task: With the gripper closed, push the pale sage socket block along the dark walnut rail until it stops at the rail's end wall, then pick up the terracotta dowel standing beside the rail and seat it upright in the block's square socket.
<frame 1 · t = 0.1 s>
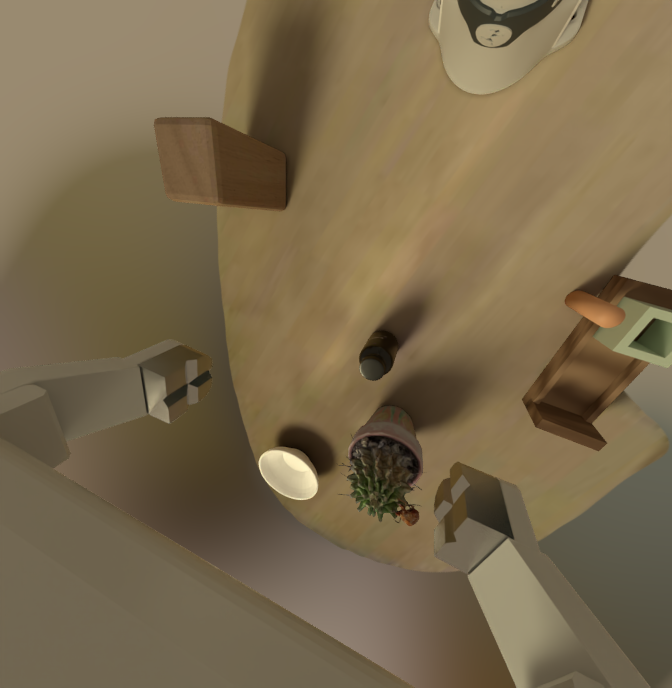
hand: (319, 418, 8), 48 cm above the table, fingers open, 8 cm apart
bowl: (297, 457, 84), on the table
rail: (592, 354, 46), on the table
dowel: (576, 299, 44), on the table
block: (266, 182, 53), on the table
supplement bottle: (383, 343, 59), on the table
socket block: (644, 330, 39), point 5 cm above the table, slide at 0.0 cm
potted plant: (388, 421, 67), on the table
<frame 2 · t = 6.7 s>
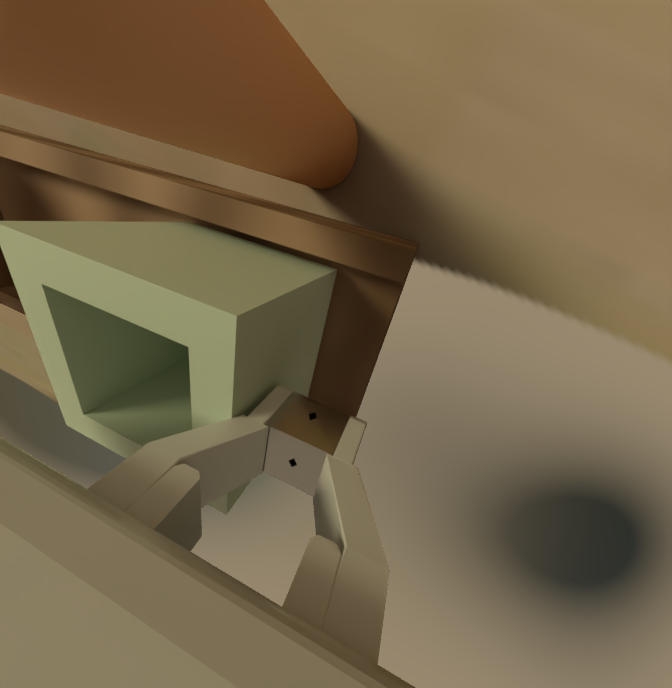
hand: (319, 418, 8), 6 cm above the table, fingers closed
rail: (176, 269, 16), on the table
dowel: (322, 146, 11), on the table
socket block: (205, 345, 10), point 5 cm above the table, slide at 0.0 cm, touching gripper
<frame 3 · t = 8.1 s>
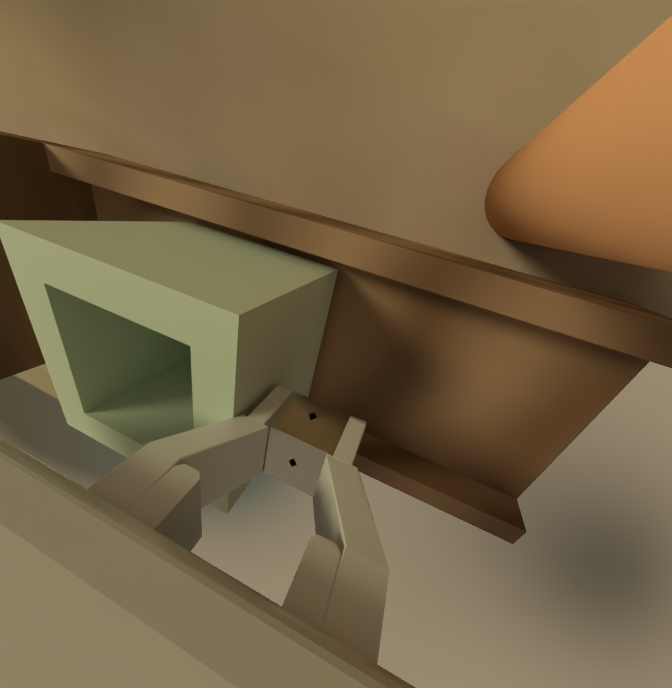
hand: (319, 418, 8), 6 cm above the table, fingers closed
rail: (297, 313, 14), on the table
dowel: (533, 195, 9), on the table
socket block: (206, 344, 10), point 5 cm above the table, slide at 8.2 cm, touching gripper
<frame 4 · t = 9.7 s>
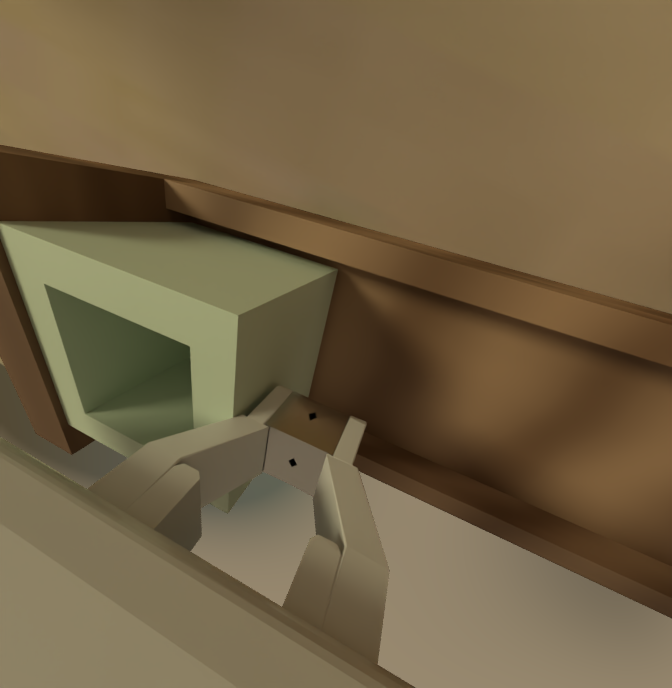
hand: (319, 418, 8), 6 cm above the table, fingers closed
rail: (410, 355, 13), on the table
socket block: (206, 344, 10), point 5 cm above the table, slide at 14.5 cm, touching gripper
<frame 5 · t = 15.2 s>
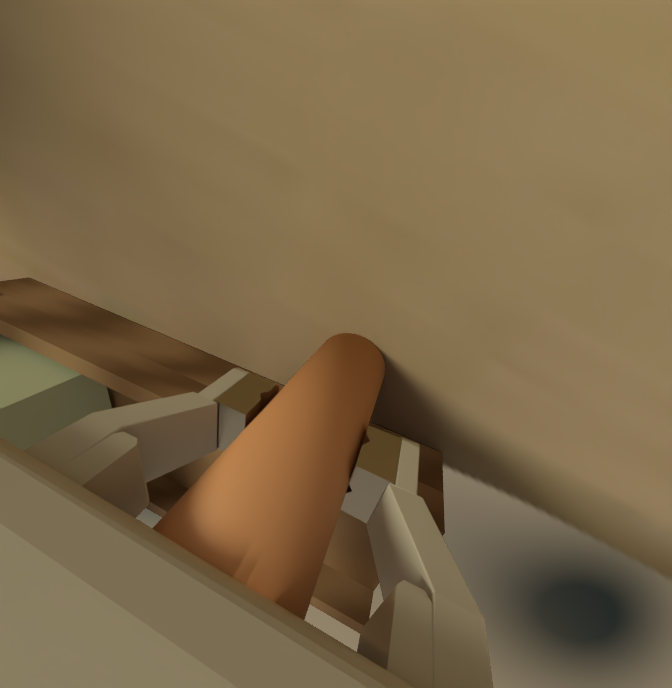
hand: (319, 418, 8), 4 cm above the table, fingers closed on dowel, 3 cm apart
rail: (201, 417, 16), on the table
dowel: (350, 365, 11), on the table, touching gripper
when the fingers open (10 cm above the table, at t = 20.2 s): dowel drops 4 cm, resting on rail.
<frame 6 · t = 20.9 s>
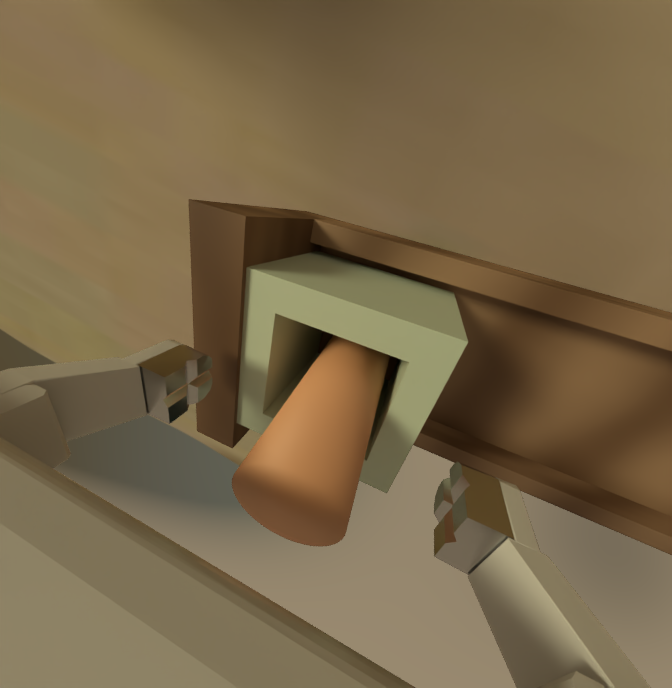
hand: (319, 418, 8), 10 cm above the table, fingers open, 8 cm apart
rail: (494, 362, 15), on the table
dowel: (367, 333, 15), point 2 cm above the table, touching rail
socket block: (347, 356, 12), point 5 cm above the table, slide at 14.5 cm, touching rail
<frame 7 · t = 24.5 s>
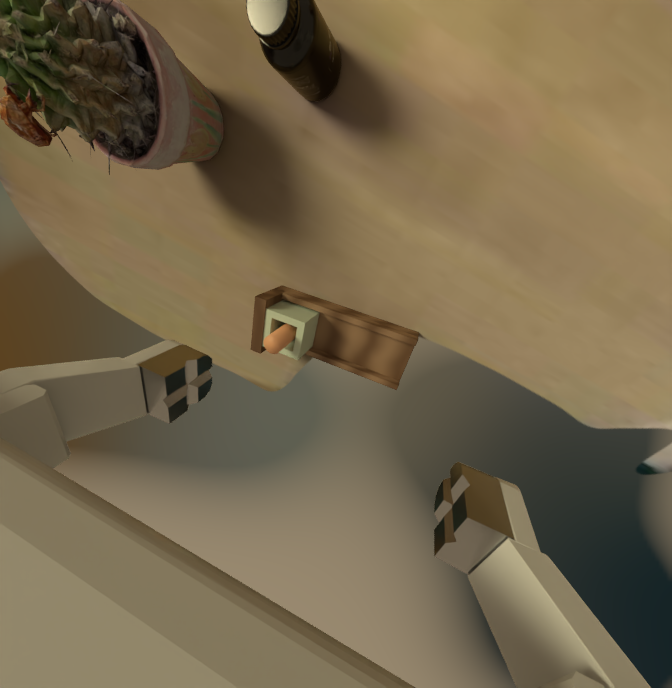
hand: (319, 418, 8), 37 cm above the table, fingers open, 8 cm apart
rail: (340, 332, 49), on the table
dowel: (300, 323, 48), point 2 cm above the table, touching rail
supplement bottle: (318, 70, 35), on the table
socket block: (291, 328, 46), point 5 cm above the table, slide at 14.5 cm, touching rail
potted plant: (196, 118, 42), on the table
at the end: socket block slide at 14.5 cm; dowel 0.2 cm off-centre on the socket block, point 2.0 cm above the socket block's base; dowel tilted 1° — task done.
